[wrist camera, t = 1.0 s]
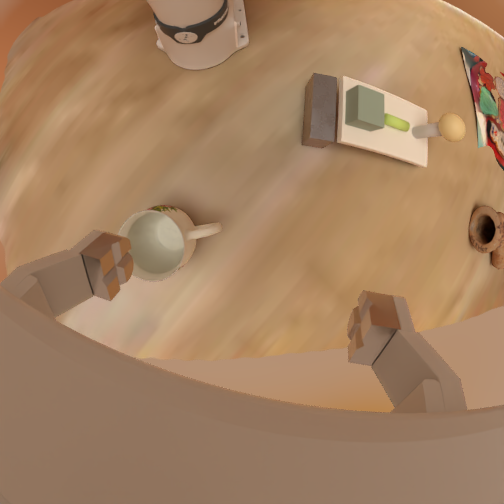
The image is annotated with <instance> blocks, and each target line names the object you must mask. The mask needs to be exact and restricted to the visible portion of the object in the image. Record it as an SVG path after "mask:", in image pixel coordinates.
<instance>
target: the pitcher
mask: <svg viewBox="0 0 504 504" xmlns="http://www.w3.org/2000/svg"><path fill="white" fill-rule="evenodd" d="M221 230H222V225H221V223H210V224H204V225H198V226H194V224H193V222H192V220H191V219H190V218H189V216H188V215H187V214H186V213H184V212H183V211H182V210H180V209H178V208H175V207H172V206H166V205H160V206H154V207H151V208H149V209H147V210H144V211H140V212H137V213H135V214H133V215H132V216H131V217H129V218H128V219H127V220H126V221H125V223H124V224H123V225H122V227H121V229H120V231H119V233H118V235H120V236H123V237H127V238H128V239H129V240H130V243H131V250H130V251H129V253H130V255H131V256H132V258H133V262H134V267H133V272H132V275H133V276H135V277H136V278H138V279H141V280H144V281H149V282H157V281H162V280H165V279H167V278H169V277H170V276H172V275H173V274H174V273H175V272H176V271H177V270H178V269H180V268H181V267H183V266H184V265H185V264H186V263H187V262H188V261H189V259H190V258H191V256H192V254H193V252H194V250H195V246H196V239H197V238H203V237H207V236H211V235H214V234H216V233H218V232H220V231H221Z"/></svg>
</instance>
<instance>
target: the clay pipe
mask: <svg viewBox="0 0 504 504" xmlns="http://www.w3.org/2000/svg"><path fill="white" fill-rule="evenodd" d="M469 234H470V238H471V242H472V244H473V245H474V247H475V248H476V250H478V251H479V252H481V253H489V252H491V251H493V252H492V265H493V266H494V267H496V268H497V269H504V214H503V213H501V212H496V211H495V210H494V209H493V208H491V207H489V206H481V207H479V208H477V209H476V210H475V211H474V213H473V215H472V217H471V221H470V225H469Z"/></svg>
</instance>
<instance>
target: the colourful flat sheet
mask: <svg viewBox="0 0 504 504" xmlns="http://www.w3.org/2000/svg"><path fill="white" fill-rule="evenodd" d="M461 49H462V53H463V58H464V63H465V68H466V72H467V76H468V79H469V82H470V85H471V88H472V92H473V96H474V100H475V106H476V114H477V125H478V148H480V147H483V146H487V145H488V146H490V147H491V148H492V149H493V150H494V153H495V157H496V160H497V162H498V164H499V165H500V167H501V168H502V169H503V170H504V81H503V80H502V79H501V78H499V77H495V85H494V83H493V81H494V79H493V77H492V76H491V75H490V74H489V73H486V72H485V67H486V65H487V63H486V62H484V61H483V60H482V59H481V58H480V57H478V56H477V55H475V54H474V53H472V52H470V51H468V50H467V49H465V48H463V47H461ZM500 73H501V72H500ZM478 74H479V76H478ZM501 74H502V75H503V76H504V74H503V73H501ZM478 79H479V80H480V81H481V83H482V84H484V85H483V86H482V85H480V84H479V82H478ZM491 88H492V89H493V90H495V89H496V90H497V92H498V94H499V96H500V98H498V101H499V104H498V109H497V106H496V102H495V99H494V97H493V95H492V93H491ZM496 119H498V120H499V123H497V122H496Z"/></svg>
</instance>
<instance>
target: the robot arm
mask: <svg viewBox="0 0 504 504" xmlns="http://www.w3.org/2000/svg"><path fill="white" fill-rule="evenodd" d="M146 1H147V2H148V4H149V5H150V6H151V8H152V10H153V11H154V18H155V22H156V24H157V25H156V26H155V30H156V33H157V35H158V40H157V42H156V44H157V47H158V48H159V49H160V50H162V51H164V52H166V53H167V55H168V56H169V58H170V60H171V61H172V62H173V63H175V64H176V65H178V66H180V67H182V68H185V69H191V70H200V69H206V68H210V67H213V66H216V65H218V64H220V63H222V62H223V61H225V60H226V59H227V58H229V57H230V56H231V55H232V54H233V53H234V52H235V51H237V50H240V49H242V48H244V47H246V46H248V45H249V36H248V29H247V22H246V15H245V8H244V1H243V0H146ZM240 37H244V38H240ZM130 250H131V243H130V240H129V239H128V238H127V237H123V236H120V235H116V234H112V233H108V232H104V231H100V230H93V231H92V232H91V233H90V234H88V235H87V236H86V237H85V238H83V239H82V240H81V241H80V242H79V243H77V244H76V245H75V246H74V247H73V248H71V249H70V250H64V251H61V252H58V253H55V254H52V255H49V256H47V257H44V258H41V259H38V260H35V261H33V262H30V263H27V264H25V265H22V266H19V267H17V268H16V269H15V270H14V271H13V272H12V273H11V274H10V275H9V276H8V277H6V278H5V279H4V280H3V281H2V282H1V283H0V504H504V405H499V406H493V407H487V408H480V409H471V410H467V406H466V402H465V397H464V392H463V388H462V384H461V380H460V378H459V377H458V376H457V375H456V374H455V372H454V371H453V370H452V369H451V368H450V367H449V365H448V364H447V363H446V362H445V361H444V360H443V359H442V357H441V356H440V355H439V354H438V353H437V352H436V351H435V350H434V348H433V347H432V346H431V345H430V344H429V343H428V342H427V341H426V340H425V339H424V338H423V336H422V335H421V334H420V333H418V332H415V329H414V326H413V322H412V319H411V315H410V312H409V309H408V305H407V302H406V299H405V298H404V297H400V296H394V295H386V294H381V293H375V292H370V291H365V290H363V291H362V292H361V294H360V296H359V298H358V305H359V306H357V307H356V308H354V309H353V311H352V313H351V315H350V318H349V322H348V328H347V336H348V337H349V339H350V340H351V342H350V343H349V345H348V359H349V360H348V362H350V363H356V364H362V365H369V366H372V369H373V371H374V372H375V374H376V376H377V378H378V379H379V381H380V383H381V384H382V386H383V388H384V390H385V391H386V393H387V395H388V397H389V398H390V400H391V402H392V404H393V405H394V407H395V408H394V409H393V410H392V411H391V412H390V413H385V412H383V413H382V412H366V411H352V410H342V409H332V408H323V407H316V406H310V405H303V404H296V403H290V402H285V401H280V400H274V399H269V398H264V397H260V396H255V395H250V394H246V393H242V392H238V391H234V390H230V389H226V388H222V387H219V386H215V385H211V384H208V383H205V382H201V381H198V380H195V379H192V378H188V377H185V376H182V375H179V374H176V373H173V372H170V371H167V370H165V369H162V368H159V367H156V366H154V365H151V364H148V363H146V362H143V361H141V360H138V359H136V358H133V357H131V356H128V355H126V354H124V353H121V352H119V351H117V350H114V349H112V348H110V347H108V346H105V345H103V344H101V343H99V342H97V341H95V340H92V339H90V338H88V337H86V336H84V335H82V334H80V333H78V332H76V331H74V330H72V329H71V328H69V327H67V326H65V325H63V324H61V323H59V322H58V321H56V319H55V318H56V317H57V316H59V315H61V314H63V313H64V312H66V311H68V310H70V309H71V308H73V307H75V306H77V305H78V304H80V303H82V302H84V301H86V300H87V299H89V298H91V297H93V295H94V296H97V297H100V298H103V299H106V300H109V301H111V300H112V299H113V298H114V297H115V296H116V294H117V293H118V292H119V291H120V285H121V284H124V283H126V282H127V281H128V280H129V279H130V277H131V275H132V272H133V267H134V262H133V258H132V256H131V255H130V253H129V251H130Z"/></svg>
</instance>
